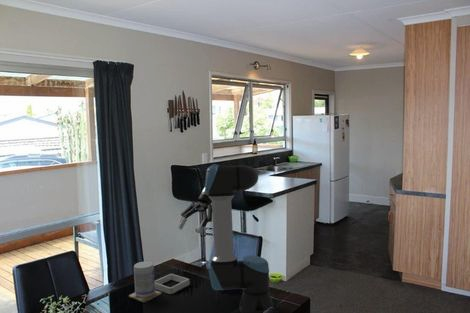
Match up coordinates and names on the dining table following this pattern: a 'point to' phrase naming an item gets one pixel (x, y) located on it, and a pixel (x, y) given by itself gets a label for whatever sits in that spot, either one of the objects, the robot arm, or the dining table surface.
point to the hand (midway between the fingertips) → (189, 230)
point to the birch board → (144, 299)
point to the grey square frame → (182, 284)
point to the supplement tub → (144, 279)
